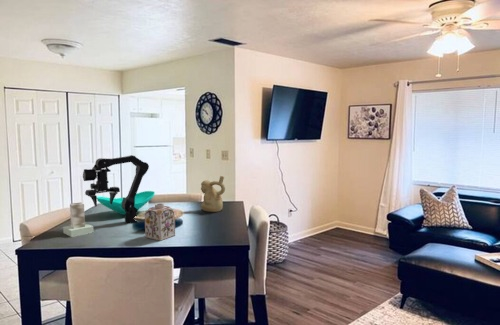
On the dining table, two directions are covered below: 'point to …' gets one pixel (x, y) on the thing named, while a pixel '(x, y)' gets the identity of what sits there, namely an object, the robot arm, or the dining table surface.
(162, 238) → the decorative jar
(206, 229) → the dining table surface
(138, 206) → the table top decor
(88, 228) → the sage block
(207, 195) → the ceramic vessel
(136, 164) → the robot arm
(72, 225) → the cream block
